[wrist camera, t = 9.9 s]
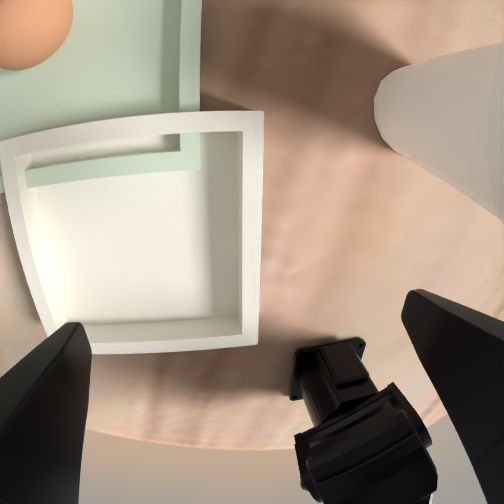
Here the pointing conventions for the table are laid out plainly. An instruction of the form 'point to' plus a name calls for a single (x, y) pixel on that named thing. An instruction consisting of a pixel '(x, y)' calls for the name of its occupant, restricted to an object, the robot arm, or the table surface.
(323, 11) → the table surface
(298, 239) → the table surface
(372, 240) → the table surface
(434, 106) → the foam cup
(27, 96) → the tray
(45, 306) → the white square open box
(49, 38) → the ball
